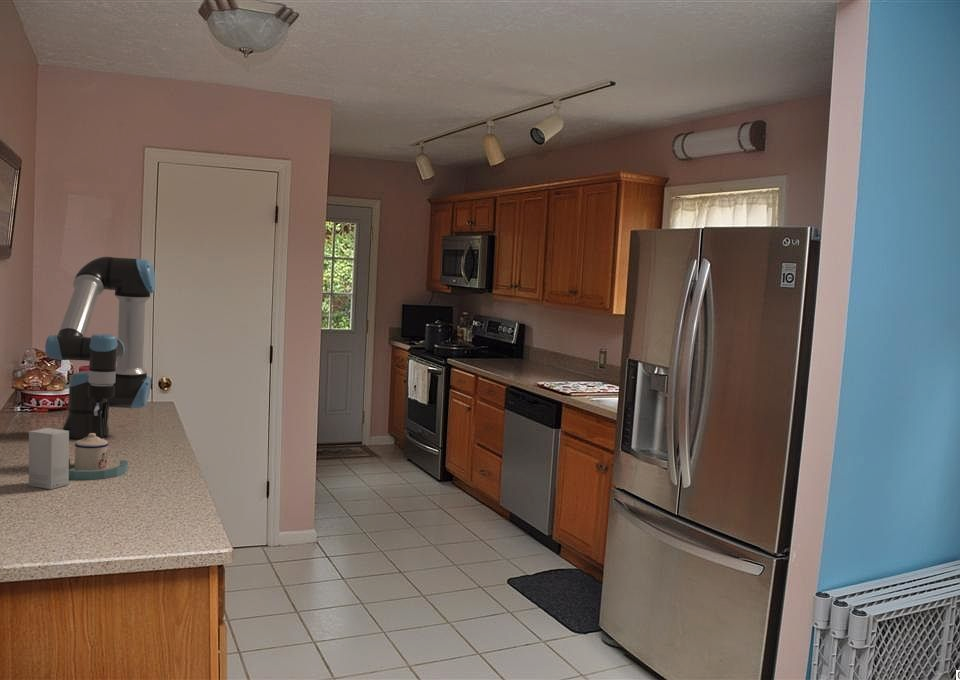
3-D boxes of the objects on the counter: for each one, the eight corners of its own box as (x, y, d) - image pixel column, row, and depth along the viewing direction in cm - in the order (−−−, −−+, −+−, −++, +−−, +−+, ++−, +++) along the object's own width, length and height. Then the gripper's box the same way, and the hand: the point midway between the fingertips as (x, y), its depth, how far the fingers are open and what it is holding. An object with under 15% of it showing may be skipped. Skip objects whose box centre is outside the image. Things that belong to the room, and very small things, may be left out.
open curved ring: (59, 465, 241) (60, 458, 241) (130, 467, 246) (130, 459, 246) (43, 479, 226) (44, 470, 226) (119, 480, 230) (119, 472, 230)
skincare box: (69, 485, 222) (71, 430, 221) (49, 490, 215) (51, 434, 214) (46, 481, 224) (48, 426, 223) (25, 485, 218) (28, 430, 217)
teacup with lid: (104, 475, 234) (106, 436, 234) (70, 475, 232) (72, 436, 231) (110, 466, 246) (112, 429, 245) (78, 465, 243) (79, 428, 242)
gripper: (93, 380, 250) (90, 454, 252) (83, 386, 238) (79, 463, 239) (119, 382, 252) (115, 455, 254) (109, 387, 239) (106, 464, 241)
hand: (98, 459), depth 246 cm, fingers closed
